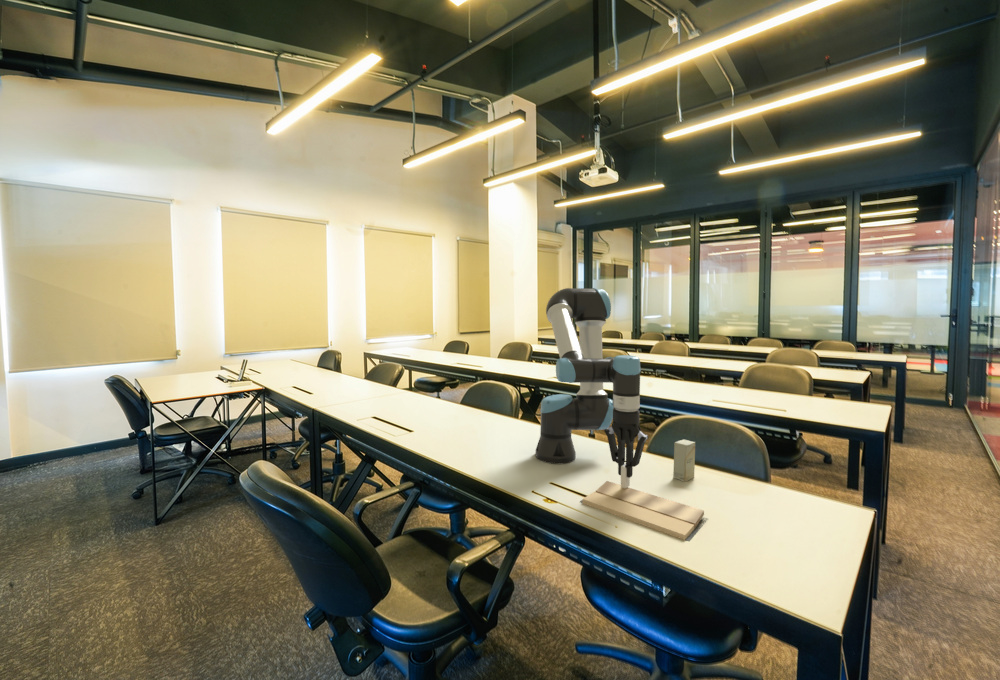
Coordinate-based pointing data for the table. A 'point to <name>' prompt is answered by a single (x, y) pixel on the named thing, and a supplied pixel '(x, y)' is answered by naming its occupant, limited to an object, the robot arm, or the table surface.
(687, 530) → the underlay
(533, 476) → the table surface
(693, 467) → the skincare box
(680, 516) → the plank
